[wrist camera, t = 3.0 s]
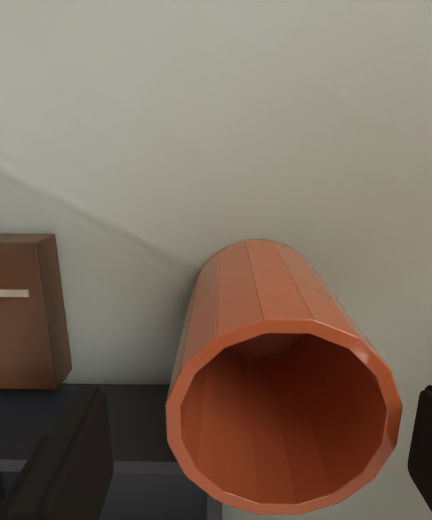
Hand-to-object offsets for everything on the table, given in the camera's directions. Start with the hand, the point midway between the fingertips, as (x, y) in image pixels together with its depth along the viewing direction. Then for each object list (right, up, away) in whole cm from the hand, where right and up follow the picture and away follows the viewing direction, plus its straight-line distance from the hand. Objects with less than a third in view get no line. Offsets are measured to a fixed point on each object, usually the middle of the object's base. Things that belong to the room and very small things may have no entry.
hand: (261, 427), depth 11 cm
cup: (+1, +3, +9) cm, 10 cm away
